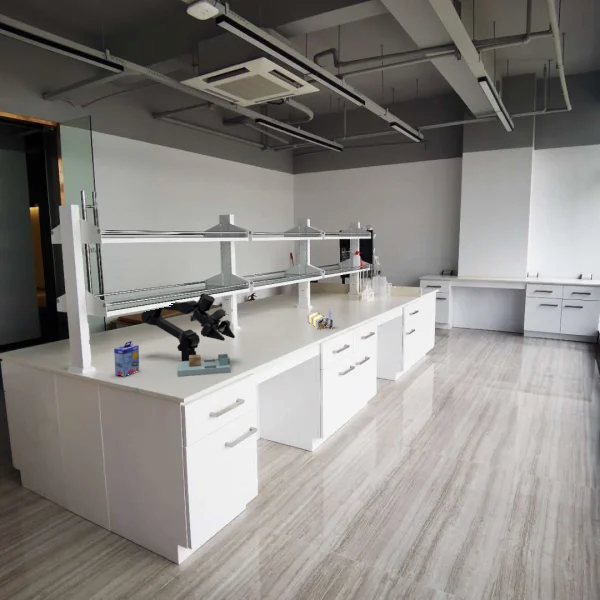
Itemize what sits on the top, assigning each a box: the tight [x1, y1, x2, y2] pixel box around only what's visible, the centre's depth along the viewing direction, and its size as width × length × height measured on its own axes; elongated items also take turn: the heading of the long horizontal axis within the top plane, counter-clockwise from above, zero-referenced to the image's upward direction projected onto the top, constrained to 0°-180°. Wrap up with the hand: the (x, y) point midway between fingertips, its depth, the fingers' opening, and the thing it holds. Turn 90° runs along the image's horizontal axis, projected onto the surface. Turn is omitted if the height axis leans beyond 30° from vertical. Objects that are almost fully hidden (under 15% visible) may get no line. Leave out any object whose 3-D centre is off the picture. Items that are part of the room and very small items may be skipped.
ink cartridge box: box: [113, 340, 140, 377], centre depth 198 cm, size 10×6×14 cm, turn 159°
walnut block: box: [189, 354, 202, 367], centre depth 202 cm, size 5×5×4 cm
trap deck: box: [176, 353, 231, 377], centre depth 203 cm, size 22×15×6 cm, turn 104°
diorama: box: [306, 308, 334, 331], centre depth 300 cm, size 25×10×13 cm, turn 15°
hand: (229, 338), depth 205 cm, fingers open, 9 cm apart
